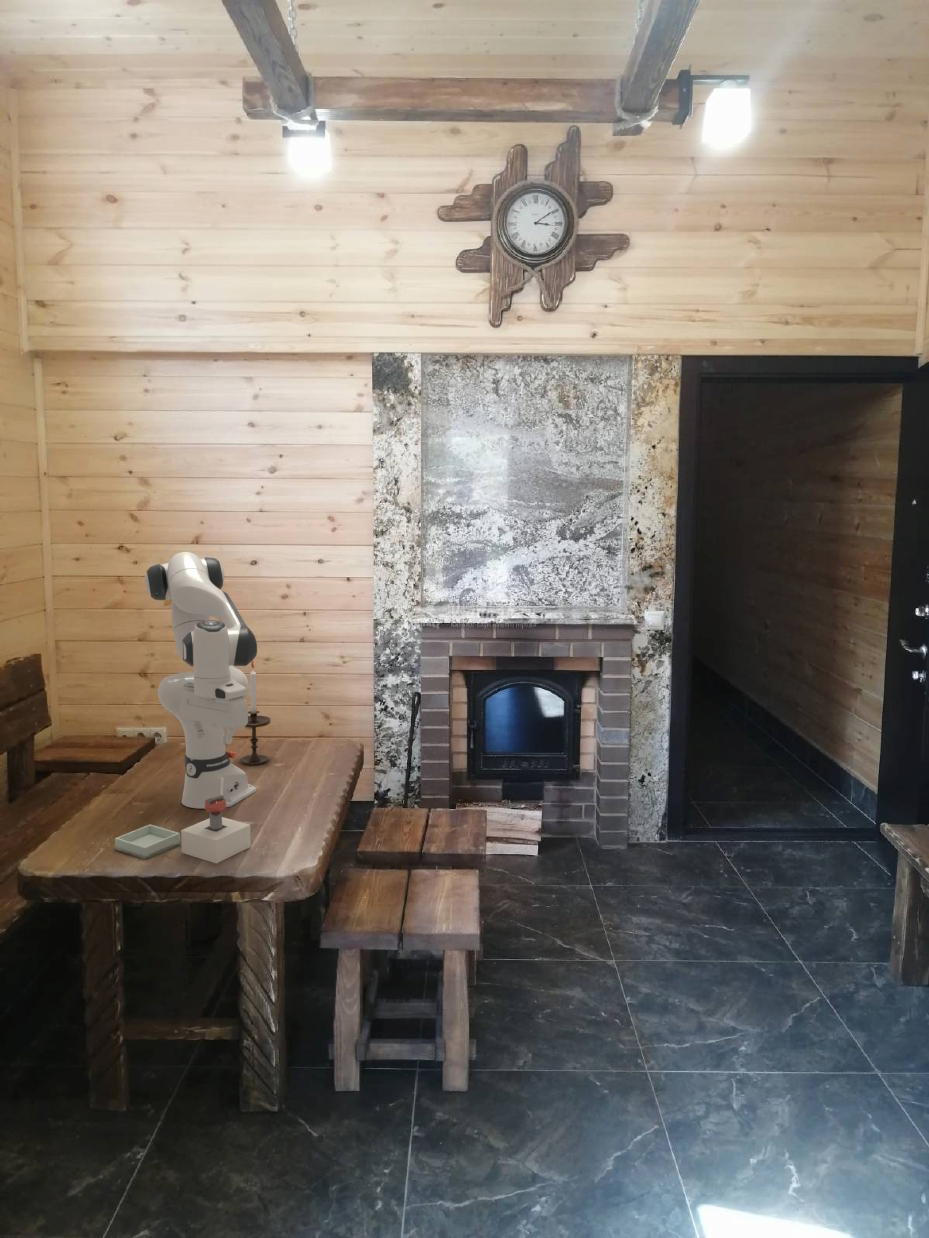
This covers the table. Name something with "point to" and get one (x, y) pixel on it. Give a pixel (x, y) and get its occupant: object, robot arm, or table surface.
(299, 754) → the table surface
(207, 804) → the red disc rod
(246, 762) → the candlestick
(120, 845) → the tray
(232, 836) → the block
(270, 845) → the table surface
